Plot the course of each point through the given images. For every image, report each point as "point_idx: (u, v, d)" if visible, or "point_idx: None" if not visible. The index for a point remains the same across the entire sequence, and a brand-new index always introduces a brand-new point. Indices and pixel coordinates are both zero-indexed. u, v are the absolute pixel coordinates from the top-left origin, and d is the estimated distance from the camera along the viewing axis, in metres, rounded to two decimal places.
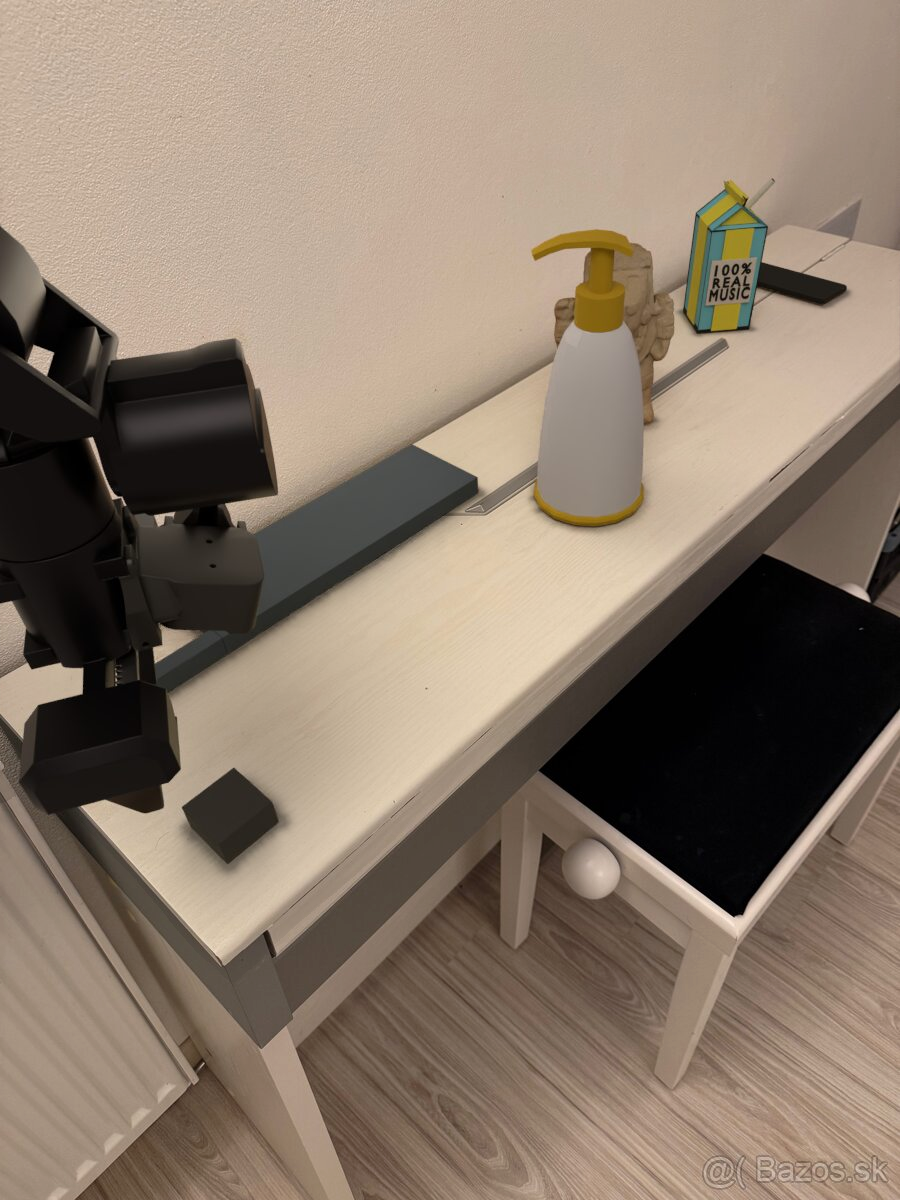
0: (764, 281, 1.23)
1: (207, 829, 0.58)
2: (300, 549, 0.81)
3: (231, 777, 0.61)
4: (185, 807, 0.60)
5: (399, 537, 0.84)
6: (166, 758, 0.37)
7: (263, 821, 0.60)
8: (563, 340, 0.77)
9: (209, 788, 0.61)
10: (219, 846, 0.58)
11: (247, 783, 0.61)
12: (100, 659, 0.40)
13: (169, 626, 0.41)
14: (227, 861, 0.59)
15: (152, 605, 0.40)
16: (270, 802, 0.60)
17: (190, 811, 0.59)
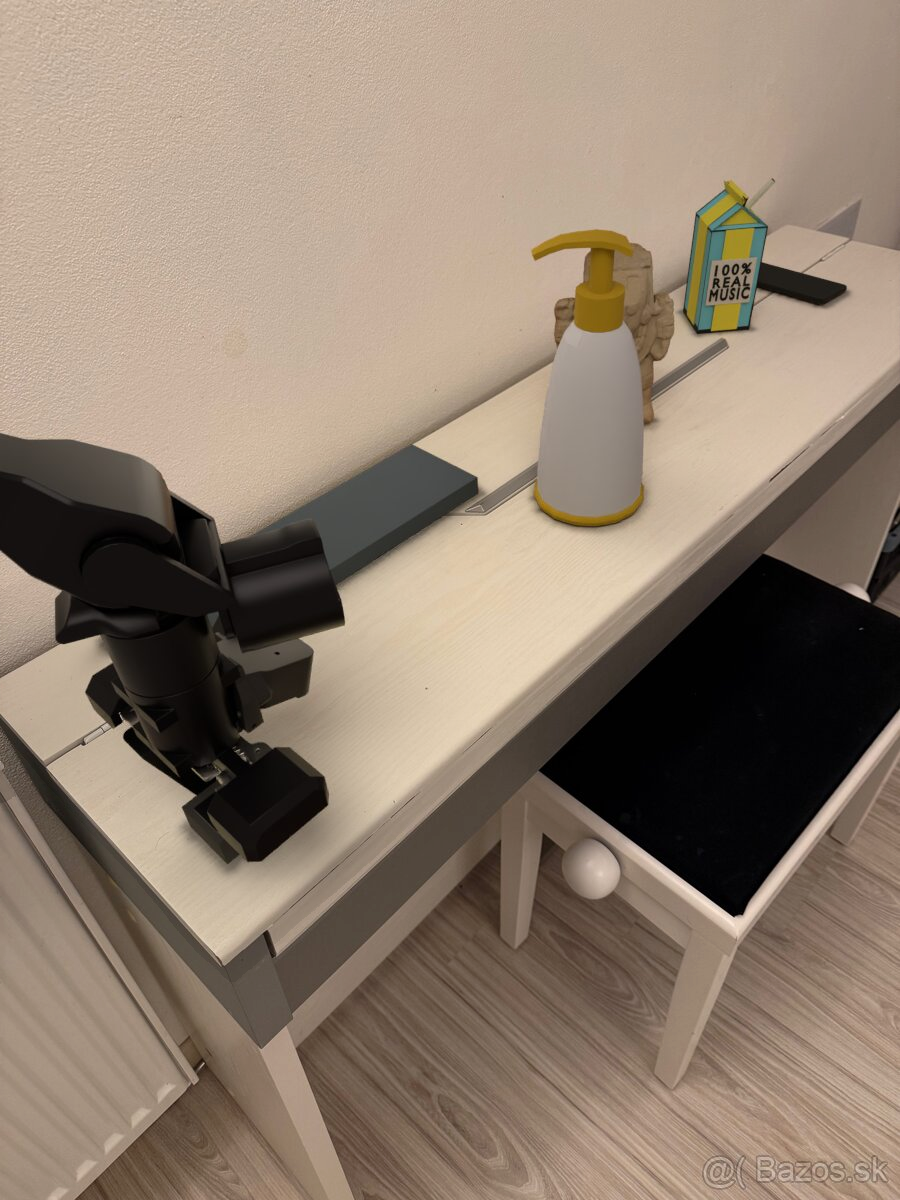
0: (764, 281, 1.23)
1: (207, 829, 0.58)
2: None
3: None
4: (185, 806, 0.60)
5: (399, 537, 0.84)
6: (325, 787, 0.51)
7: None
8: (563, 340, 0.77)
9: (209, 788, 0.61)
10: (219, 846, 0.58)
11: None
12: (226, 749, 0.53)
13: (263, 707, 0.54)
14: (227, 861, 0.59)
15: (255, 694, 0.53)
16: None
17: (190, 811, 0.59)
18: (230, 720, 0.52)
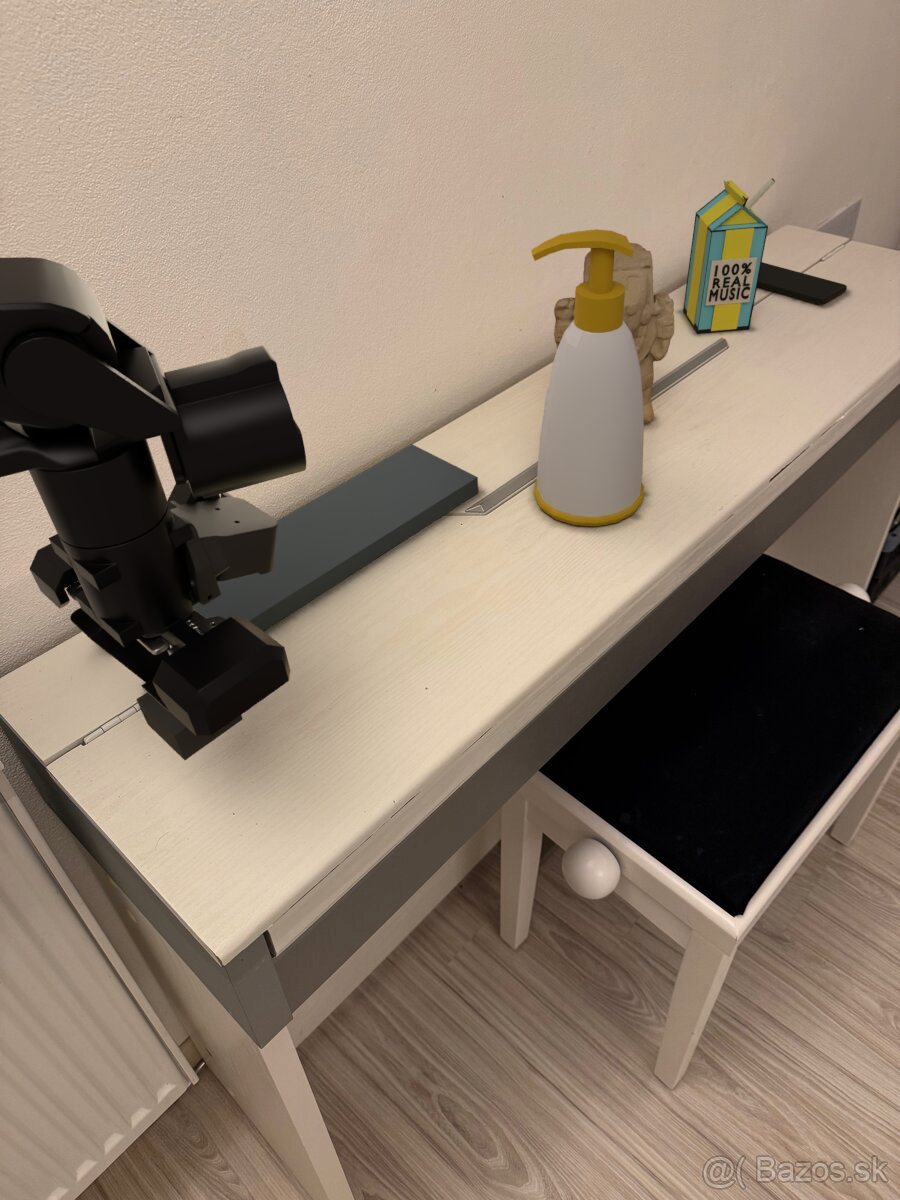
0: (764, 281, 1.23)
1: (162, 721, 0.53)
2: (300, 549, 0.81)
3: None
4: (140, 699, 0.55)
5: (399, 537, 0.84)
6: (285, 659, 0.46)
7: None
8: (563, 340, 0.77)
9: None
10: (175, 738, 0.53)
11: None
12: (178, 620, 0.48)
13: (220, 579, 0.50)
14: (184, 757, 0.54)
15: (210, 561, 0.48)
16: None
17: (145, 703, 0.55)
18: (182, 587, 0.47)
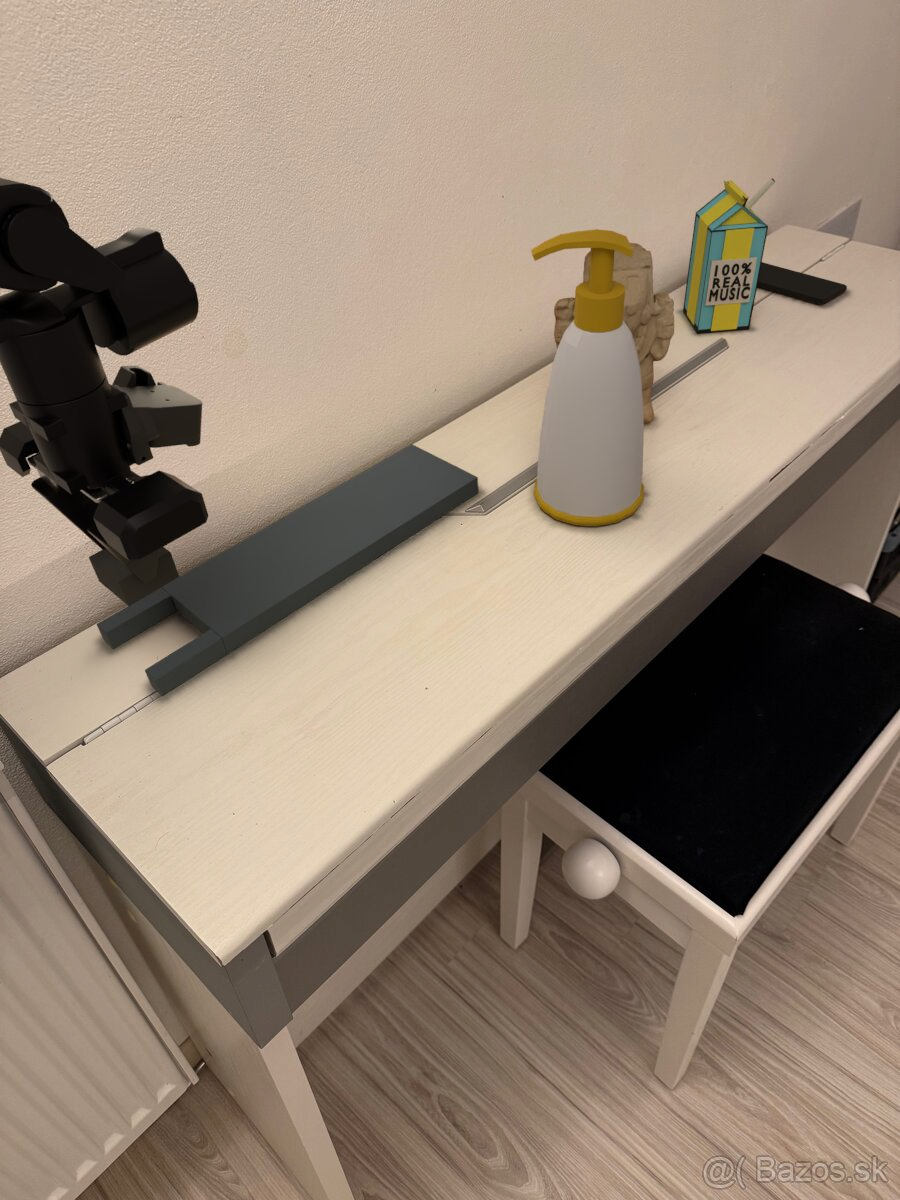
0: (764, 281, 1.23)
1: (109, 572, 0.64)
2: (300, 549, 0.81)
3: None
4: (91, 557, 0.66)
5: (399, 537, 0.84)
6: (202, 503, 0.57)
7: (163, 571, 0.66)
8: (563, 340, 0.77)
9: None
10: (119, 584, 0.63)
11: None
12: (117, 475, 0.59)
13: (153, 445, 0.60)
14: (128, 603, 0.65)
15: (143, 427, 0.59)
16: (169, 552, 0.65)
17: (96, 559, 0.65)
18: (119, 448, 0.58)
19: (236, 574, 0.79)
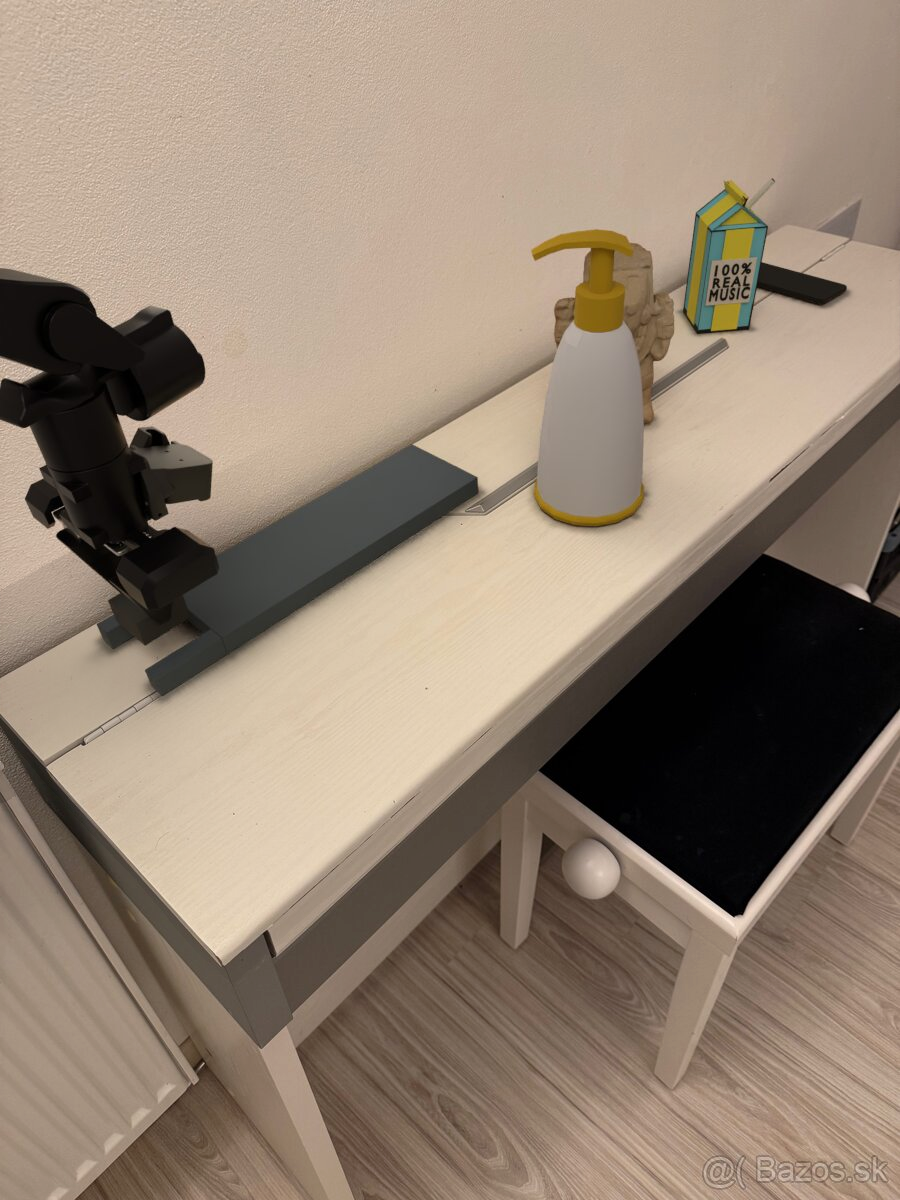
0: (764, 281, 1.23)
1: (127, 614, 0.70)
2: (300, 549, 0.81)
3: None
4: (110, 600, 0.72)
5: (399, 537, 0.84)
6: (214, 557, 0.63)
7: (176, 612, 0.72)
8: (563, 340, 0.77)
9: None
10: (136, 626, 0.69)
11: None
12: (136, 531, 0.65)
13: (168, 502, 0.66)
14: (145, 643, 0.71)
15: (160, 487, 0.65)
16: (181, 596, 0.71)
17: (114, 603, 0.71)
18: (138, 506, 0.64)
19: (236, 574, 0.79)
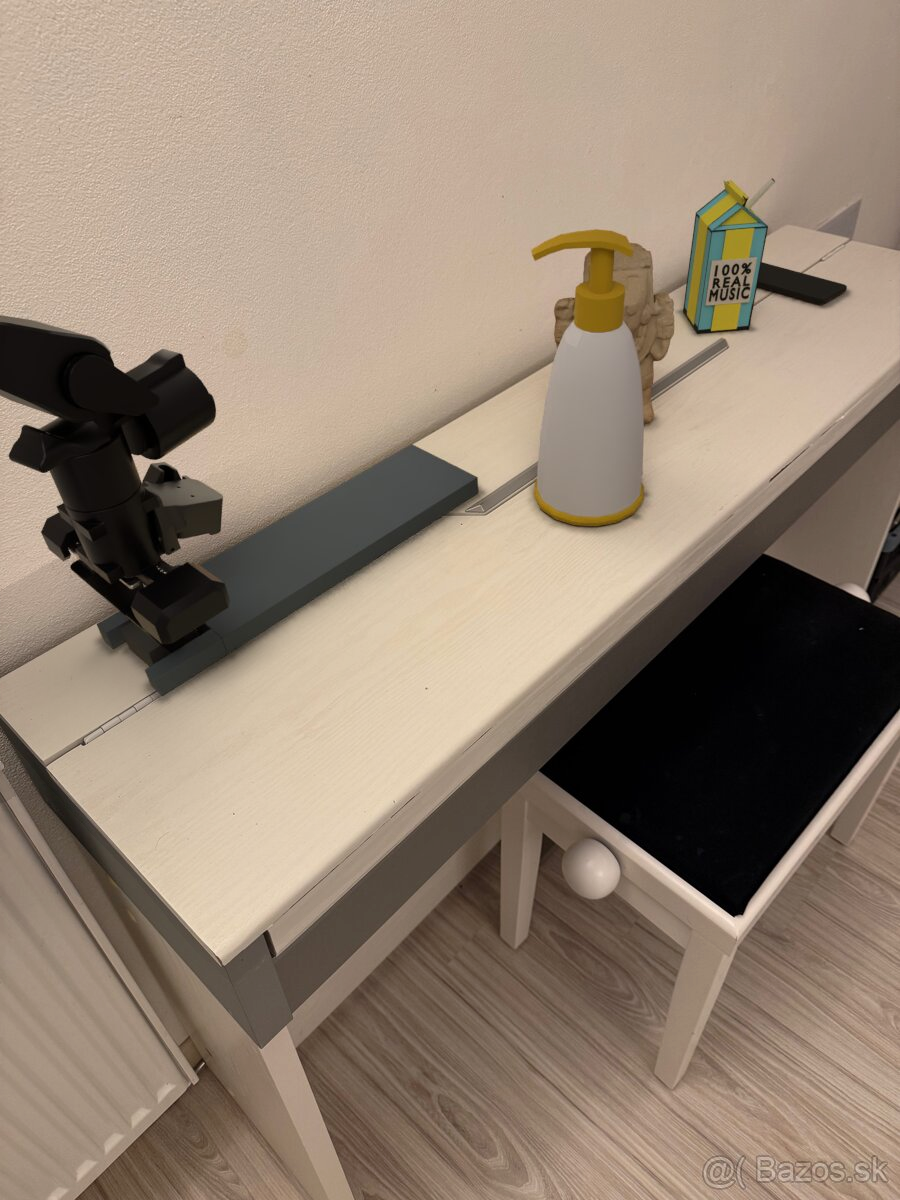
0: (764, 281, 1.23)
1: (140, 643, 0.72)
2: (300, 549, 0.81)
3: None
4: (123, 628, 0.74)
5: (399, 537, 0.84)
6: (225, 592, 0.65)
7: (187, 640, 0.74)
8: (563, 340, 0.77)
9: None
10: (149, 655, 0.72)
11: None
12: (149, 566, 0.67)
13: (180, 537, 0.69)
14: None
15: (172, 523, 0.67)
16: None
17: (127, 631, 0.73)
18: (152, 542, 0.66)
19: (236, 574, 0.79)
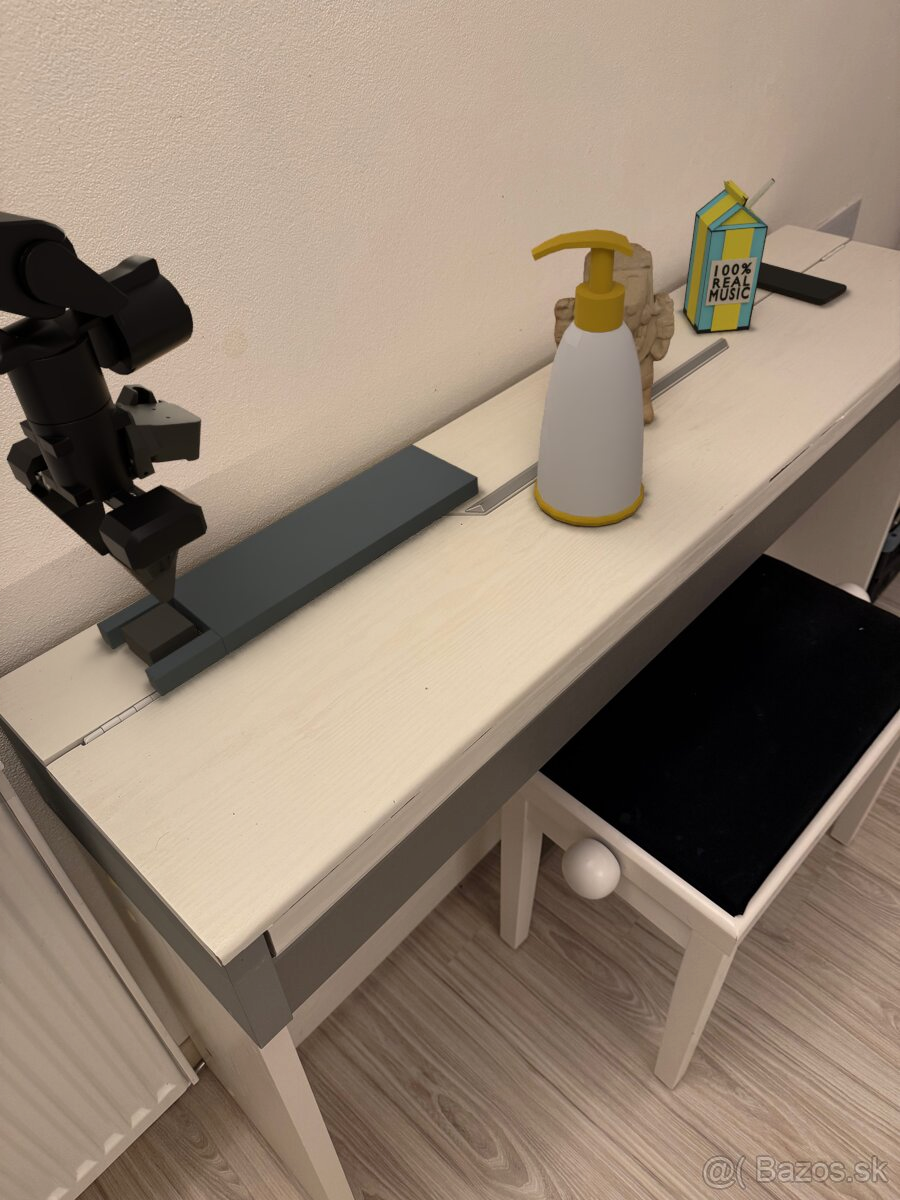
0: (764, 281, 1.23)
1: (140, 643, 0.72)
2: (300, 549, 0.81)
3: (162, 608, 0.75)
4: (123, 628, 0.74)
5: (399, 537, 0.84)
6: (202, 516, 0.61)
7: (187, 640, 0.74)
8: (563, 340, 0.77)
9: (144, 616, 0.75)
10: (149, 655, 0.72)
11: (175, 612, 0.75)
12: (120, 489, 0.62)
13: (154, 460, 0.64)
14: None
15: (146, 444, 0.62)
16: (192, 624, 0.74)
17: (127, 631, 0.73)
18: (123, 463, 0.62)
19: (236, 574, 0.79)
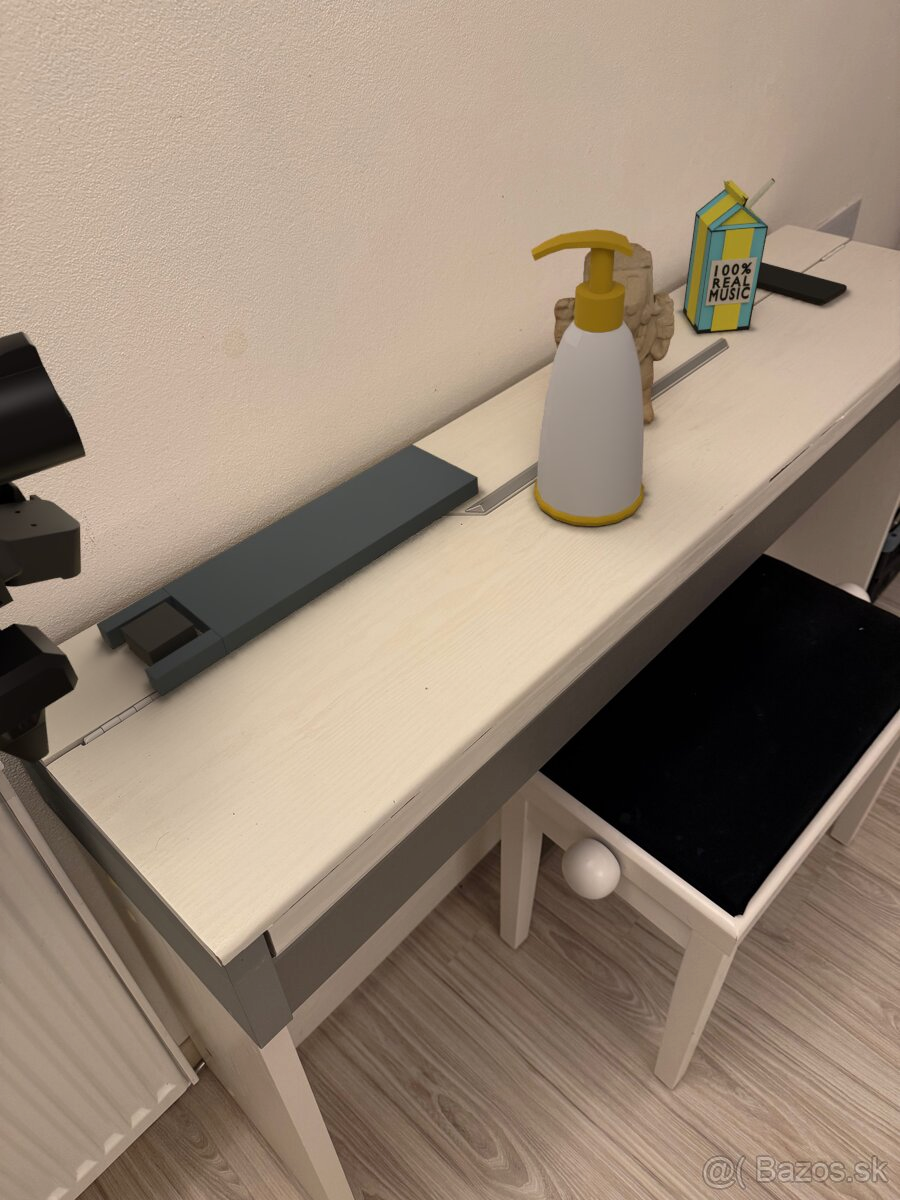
0: (764, 281, 1.23)
1: (140, 643, 0.72)
2: (300, 549, 0.81)
3: (162, 608, 0.75)
4: (123, 628, 0.74)
5: (399, 537, 0.84)
6: (67, 668, 0.45)
7: (187, 640, 0.74)
8: (563, 340, 0.77)
9: (144, 616, 0.75)
10: (149, 655, 0.72)
11: (175, 612, 0.75)
12: None
13: (13, 584, 0.48)
14: None
15: None
16: (192, 624, 0.74)
17: (127, 631, 0.73)
18: None
19: (236, 574, 0.79)
